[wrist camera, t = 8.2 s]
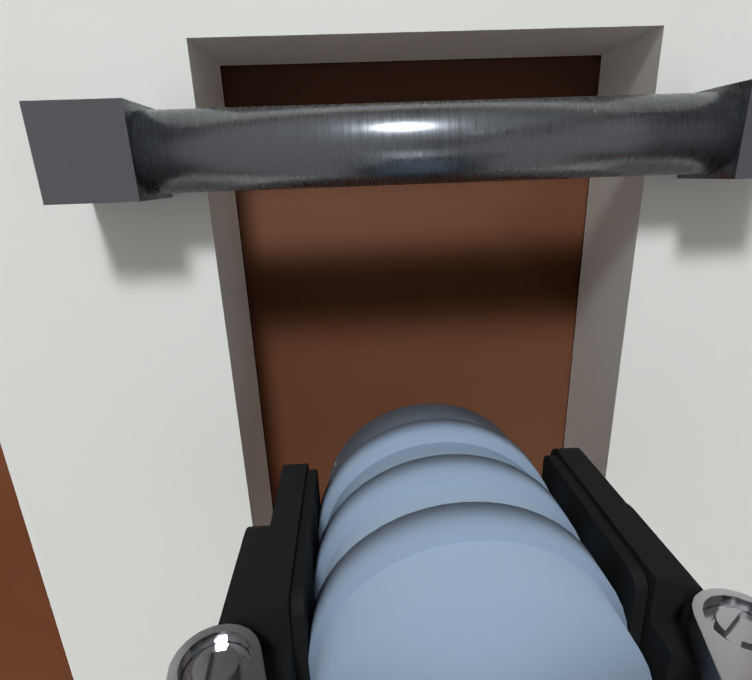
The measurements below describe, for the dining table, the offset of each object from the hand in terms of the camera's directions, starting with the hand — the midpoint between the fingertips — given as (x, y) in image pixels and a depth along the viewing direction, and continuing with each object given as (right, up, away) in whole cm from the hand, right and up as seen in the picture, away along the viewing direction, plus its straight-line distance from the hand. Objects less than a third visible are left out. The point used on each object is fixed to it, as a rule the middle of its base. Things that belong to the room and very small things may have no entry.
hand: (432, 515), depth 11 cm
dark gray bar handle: (0, +8, -1) cm, 8 cm away
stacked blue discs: (0, 0, +1) cm, 1 cm away
